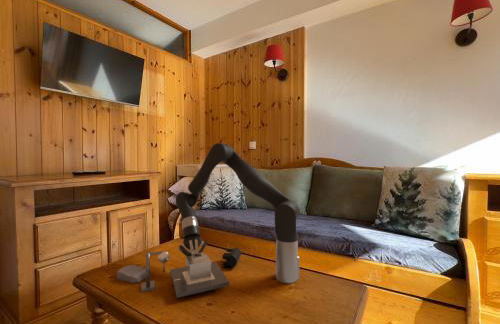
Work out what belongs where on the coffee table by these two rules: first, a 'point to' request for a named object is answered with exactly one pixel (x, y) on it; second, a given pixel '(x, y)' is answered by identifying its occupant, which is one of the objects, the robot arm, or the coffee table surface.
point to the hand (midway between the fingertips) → (196, 264)
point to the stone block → (132, 274)
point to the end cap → (231, 258)
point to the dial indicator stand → (149, 284)
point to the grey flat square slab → (187, 288)
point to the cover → (198, 267)
